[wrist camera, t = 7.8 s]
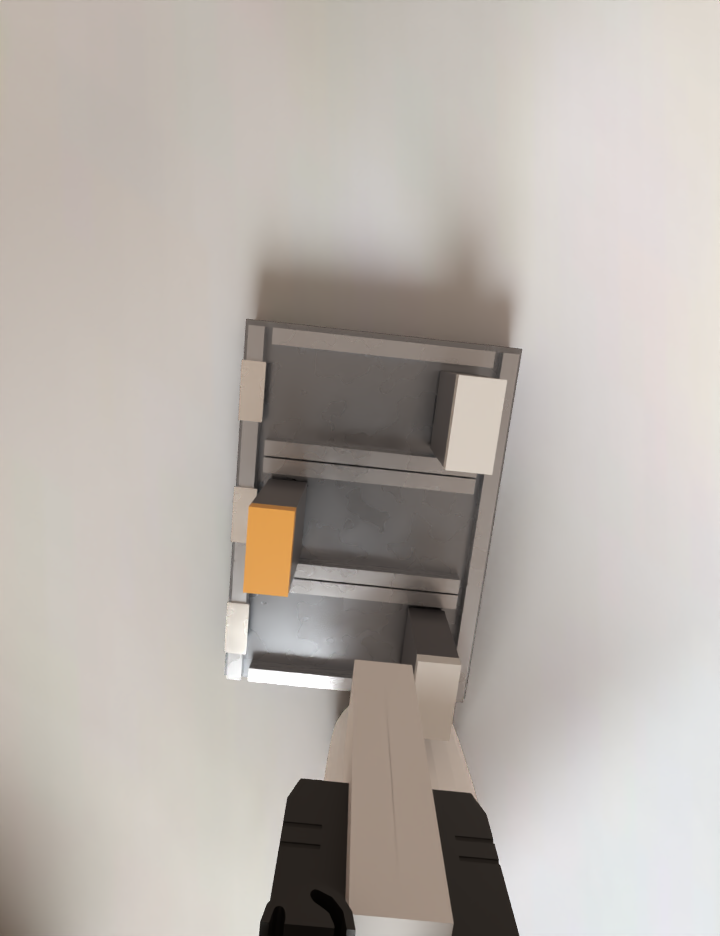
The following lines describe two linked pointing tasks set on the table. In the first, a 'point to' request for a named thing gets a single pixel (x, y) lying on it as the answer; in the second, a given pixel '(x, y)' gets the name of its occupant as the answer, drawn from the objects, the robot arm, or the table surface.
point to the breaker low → (432, 669)
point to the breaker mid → (274, 537)
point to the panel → (358, 500)
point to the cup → (441, 757)
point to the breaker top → (467, 421)
